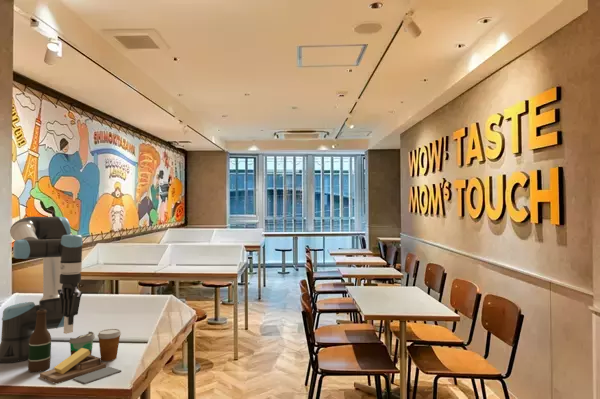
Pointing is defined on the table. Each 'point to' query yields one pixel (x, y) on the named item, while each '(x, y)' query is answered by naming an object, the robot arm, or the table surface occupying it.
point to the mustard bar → (72, 360)
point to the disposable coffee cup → (109, 343)
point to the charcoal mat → (96, 375)
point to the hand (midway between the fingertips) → (68, 332)
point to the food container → (82, 342)
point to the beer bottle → (39, 345)
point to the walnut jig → (75, 370)
